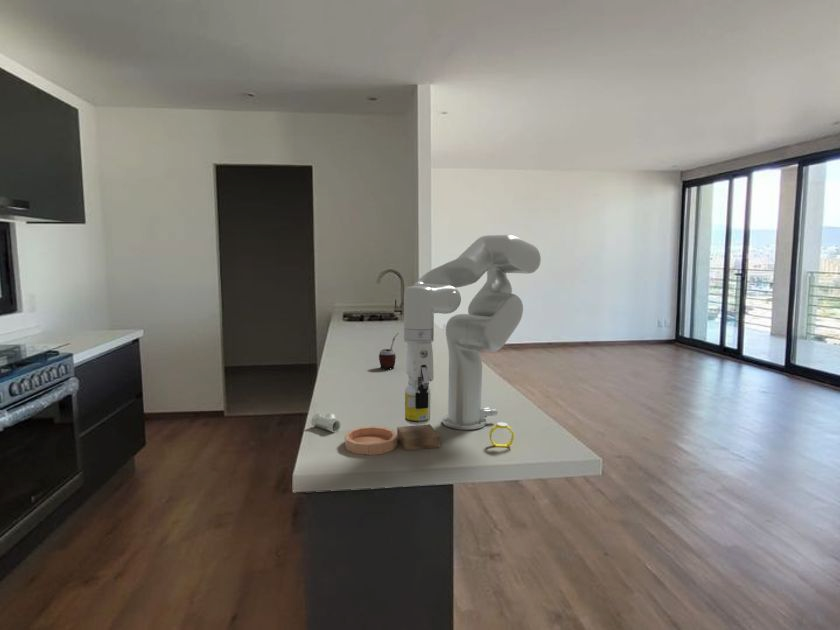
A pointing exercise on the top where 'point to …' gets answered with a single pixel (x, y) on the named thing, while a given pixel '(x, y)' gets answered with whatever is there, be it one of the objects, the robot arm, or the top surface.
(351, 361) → the top surface
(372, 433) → the ring dish
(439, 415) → the top surface
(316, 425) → the pipe fitting
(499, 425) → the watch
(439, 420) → the top surface
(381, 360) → the mate gourd
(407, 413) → the pill bottle
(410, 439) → the walnut stand
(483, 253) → the robot arm
